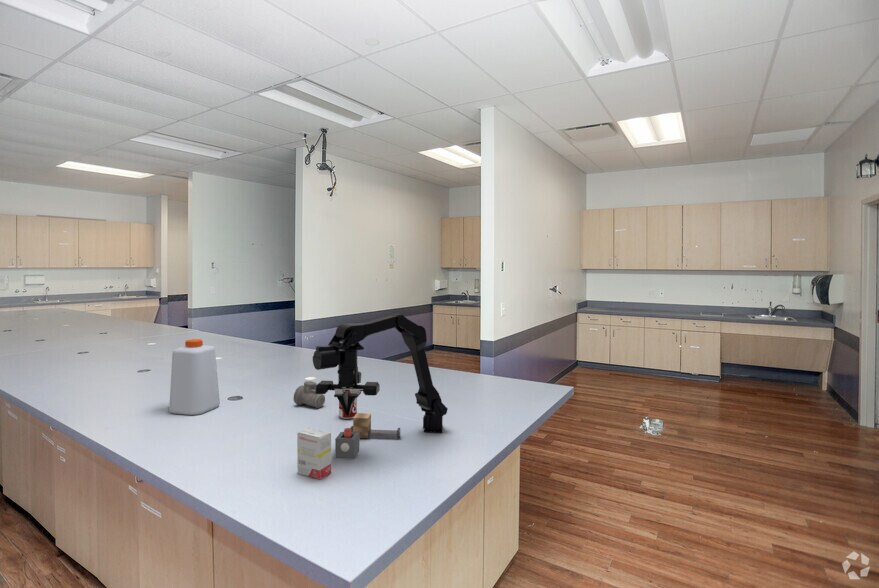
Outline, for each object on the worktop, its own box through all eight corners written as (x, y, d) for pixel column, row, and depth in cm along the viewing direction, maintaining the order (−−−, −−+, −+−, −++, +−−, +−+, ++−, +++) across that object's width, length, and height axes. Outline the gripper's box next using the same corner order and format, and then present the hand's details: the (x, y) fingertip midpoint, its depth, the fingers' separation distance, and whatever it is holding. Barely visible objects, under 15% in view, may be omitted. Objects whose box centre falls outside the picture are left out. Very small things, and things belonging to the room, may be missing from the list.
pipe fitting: (291, 405, 185) (294, 381, 184) (304, 401, 192) (308, 378, 192) (313, 413, 180) (316, 388, 179) (326, 409, 187) (330, 385, 186)
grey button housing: (359, 451, 141) (359, 432, 141) (354, 459, 135) (354, 440, 135) (340, 450, 142) (340, 431, 141) (335, 458, 135) (335, 439, 135)
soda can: (339, 420, 169) (339, 389, 168) (338, 415, 175) (338, 384, 174) (357, 419, 170) (357, 388, 170) (355, 413, 177) (356, 383, 176)
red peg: (352, 440, 139) (352, 428, 139) (350, 443, 137) (350, 430, 137) (345, 440, 139) (345, 427, 139) (343, 443, 137) (343, 430, 137)
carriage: (370, 432, 156) (371, 413, 155) (367, 437, 151) (367, 418, 150) (356, 431, 156) (356, 413, 156) (353, 437, 151) (353, 417, 151)
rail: (400, 436, 154) (400, 427, 154) (399, 439, 151) (399, 430, 151) (351, 434, 155) (351, 426, 155) (349, 437, 152) (349, 429, 152)
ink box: (332, 473, 126) (332, 431, 125) (320, 480, 122) (320, 437, 121) (309, 466, 130) (309, 426, 129) (296, 473, 126) (296, 432, 125)
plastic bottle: (197, 417, 171) (196, 344, 169) (163, 413, 174) (162, 342, 172) (224, 405, 185) (223, 338, 184) (192, 402, 188) (191, 336, 187)
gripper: (383, 360, 144) (382, 408, 145) (326, 359, 145) (326, 406, 146) (376, 368, 133) (375, 419, 134) (314, 366, 134) (314, 417, 135)
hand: (347, 415), depth 138 cm, fingers closed
